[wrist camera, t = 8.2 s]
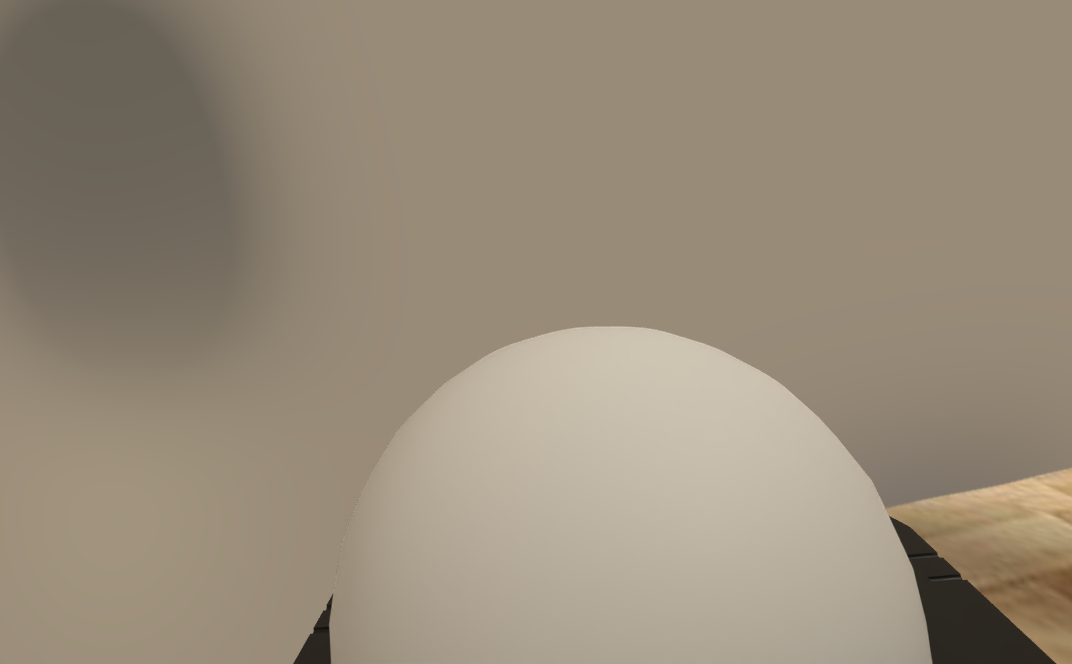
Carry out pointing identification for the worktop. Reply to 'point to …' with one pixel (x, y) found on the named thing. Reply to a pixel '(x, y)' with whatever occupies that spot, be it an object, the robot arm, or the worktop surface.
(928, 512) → the worktop surface
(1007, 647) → the robot arm
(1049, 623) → the worktop surface
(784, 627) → the lightbulb
